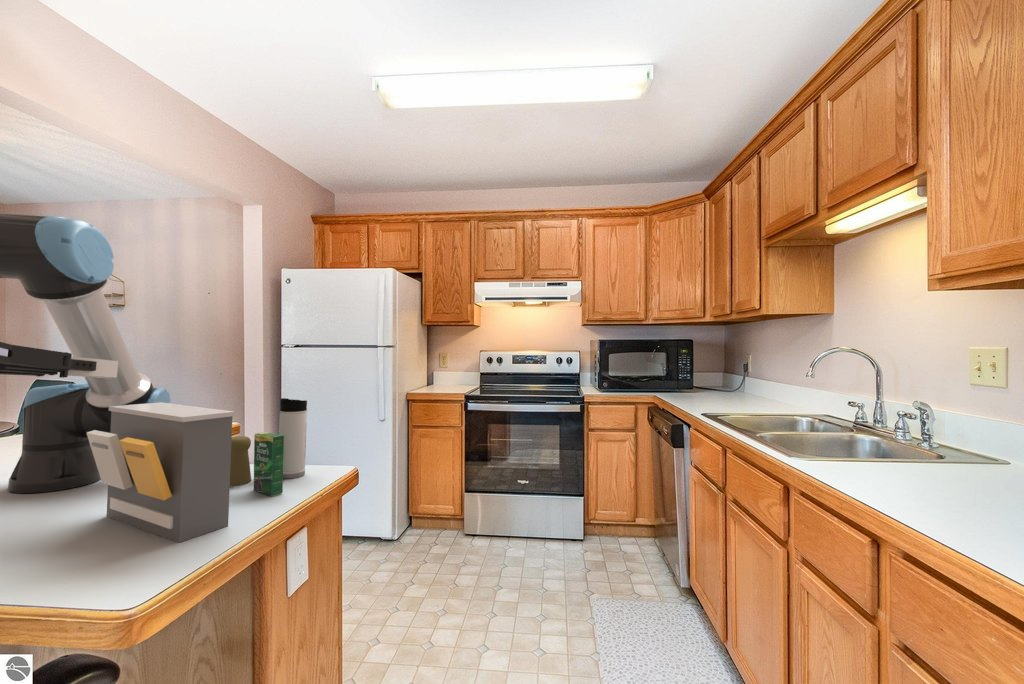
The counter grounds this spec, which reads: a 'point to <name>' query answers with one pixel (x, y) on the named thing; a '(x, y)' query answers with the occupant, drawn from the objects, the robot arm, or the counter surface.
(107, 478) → the rocker ivory
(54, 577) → the counter surface
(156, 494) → the rocker amber
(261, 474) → the coffee box
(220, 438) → the switch panel
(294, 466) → the travel mug
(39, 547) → the counter surface
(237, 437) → the cork
